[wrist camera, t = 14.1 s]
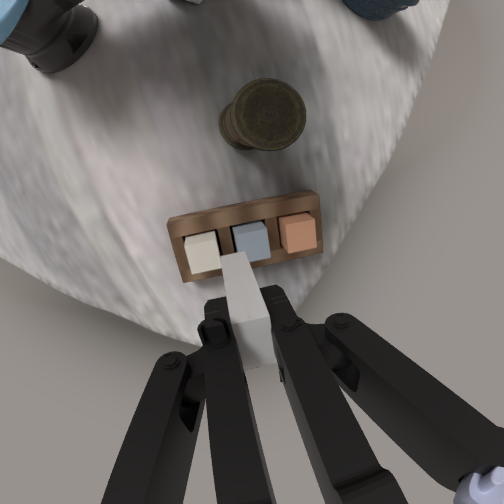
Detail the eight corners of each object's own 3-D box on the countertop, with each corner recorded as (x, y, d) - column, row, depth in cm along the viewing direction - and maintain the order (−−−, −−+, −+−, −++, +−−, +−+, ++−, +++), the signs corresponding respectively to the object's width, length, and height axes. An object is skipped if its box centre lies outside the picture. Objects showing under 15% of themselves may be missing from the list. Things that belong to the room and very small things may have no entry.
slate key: (236, 250, 49) (240, 264, 44) (231, 223, 47) (235, 235, 42) (263, 244, 50) (270, 257, 44) (259, 218, 48) (266, 228, 42)
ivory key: (192, 259, 49) (191, 274, 43) (186, 233, 47) (184, 245, 41) (220, 253, 49) (222, 268, 44) (214, 227, 47) (215, 239, 42)
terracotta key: (279, 240, 50) (288, 253, 45) (275, 215, 48) (285, 224, 43) (304, 235, 51) (316, 247, 45) (302, 210, 49) (314, 219, 43)
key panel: (184, 272, 51) (183, 283, 47) (169, 218, 47) (166, 224, 43) (315, 244, 53) (323, 252, 50) (310, 190, 49) (319, 194, 45)
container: (210, 111, 41) (214, 92, 24) (259, 92, 41) (291, 66, 24) (231, 158, 45) (248, 166, 28) (279, 138, 44) (321, 137, 28)
